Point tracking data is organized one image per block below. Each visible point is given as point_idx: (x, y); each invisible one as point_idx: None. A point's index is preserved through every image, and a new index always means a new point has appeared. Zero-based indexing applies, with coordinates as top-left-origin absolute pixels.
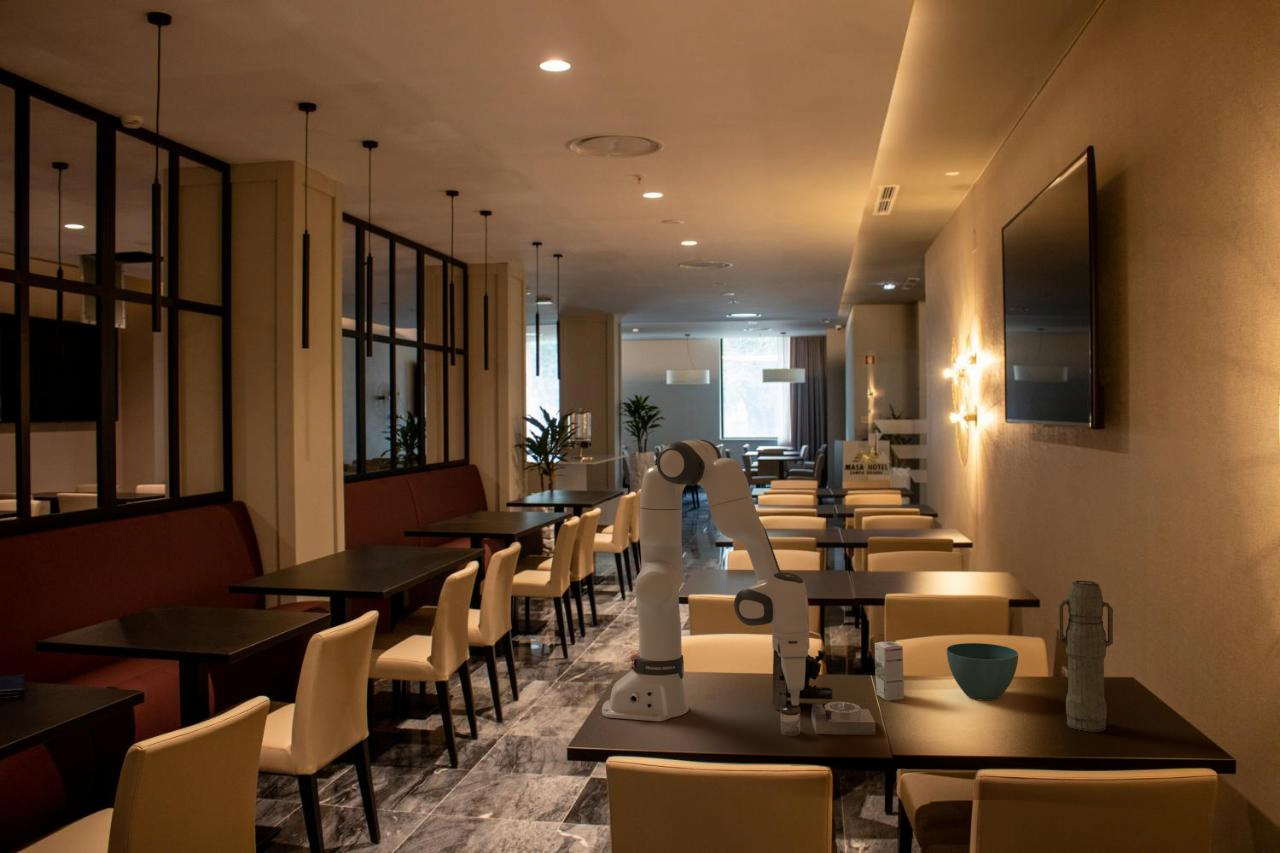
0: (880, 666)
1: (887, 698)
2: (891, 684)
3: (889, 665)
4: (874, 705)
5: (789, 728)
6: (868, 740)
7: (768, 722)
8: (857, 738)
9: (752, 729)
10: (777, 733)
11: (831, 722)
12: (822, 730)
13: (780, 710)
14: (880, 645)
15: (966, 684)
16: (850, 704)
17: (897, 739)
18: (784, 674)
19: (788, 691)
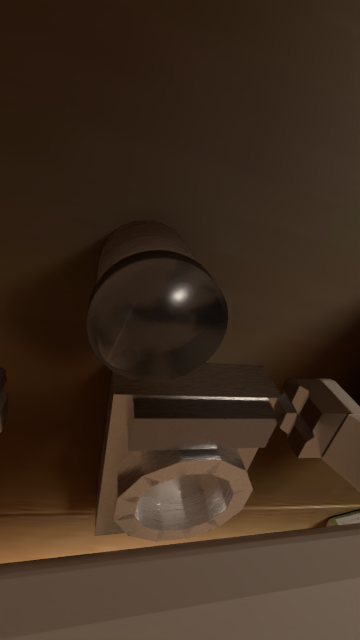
0: None
1: (330, 525)
2: None
3: None
4: (313, 501)
5: (99, 264)
6: (44, 480)
7: (303, 195)
8: (63, 459)
9: (228, 55)
10: (139, 199)
11: (107, 439)
12: (111, 387)
13: (152, 255)
14: None
15: None
16: (208, 521)
17: (56, 527)
18: (292, 627)
19: (296, 385)
